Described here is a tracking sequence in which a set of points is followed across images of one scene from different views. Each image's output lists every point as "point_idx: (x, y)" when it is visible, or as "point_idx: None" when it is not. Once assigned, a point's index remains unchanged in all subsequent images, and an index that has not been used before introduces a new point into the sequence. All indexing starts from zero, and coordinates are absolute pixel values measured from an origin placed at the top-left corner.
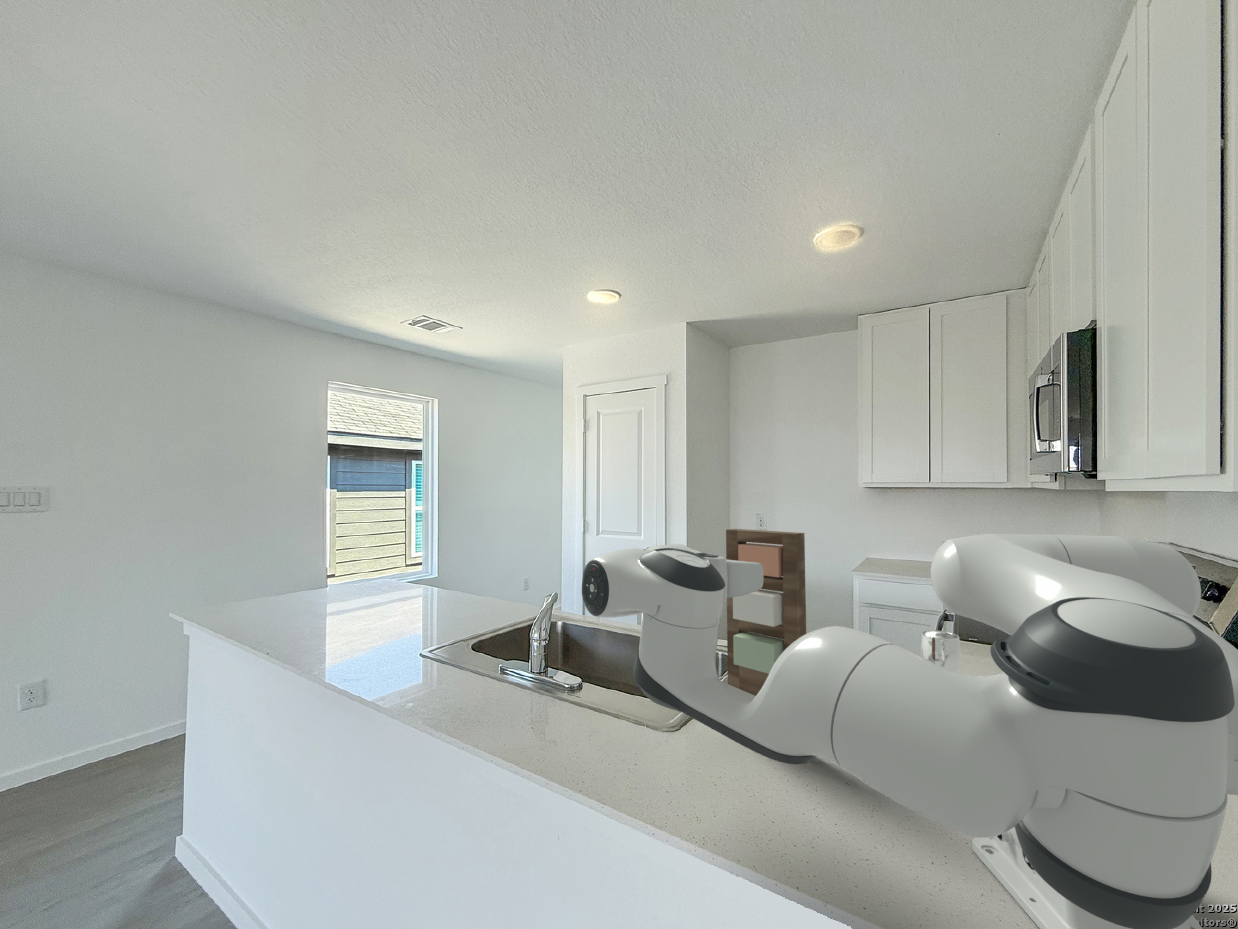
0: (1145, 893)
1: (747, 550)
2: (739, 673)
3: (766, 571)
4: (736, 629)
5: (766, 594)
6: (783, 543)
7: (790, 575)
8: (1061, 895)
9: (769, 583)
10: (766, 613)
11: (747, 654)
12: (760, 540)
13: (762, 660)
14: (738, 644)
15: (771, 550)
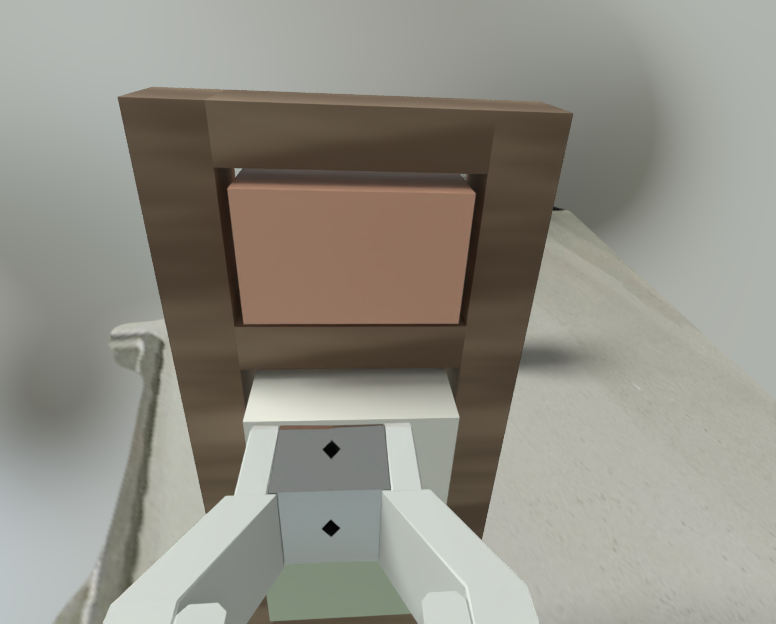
0: None
1: (291, 217)
2: None
3: (399, 306)
4: None
5: (410, 403)
6: (494, 166)
7: (504, 305)
8: None
9: (399, 344)
10: (420, 475)
11: (328, 591)
12: (361, 156)
13: (388, 592)
14: (287, 575)
15: (436, 208)
